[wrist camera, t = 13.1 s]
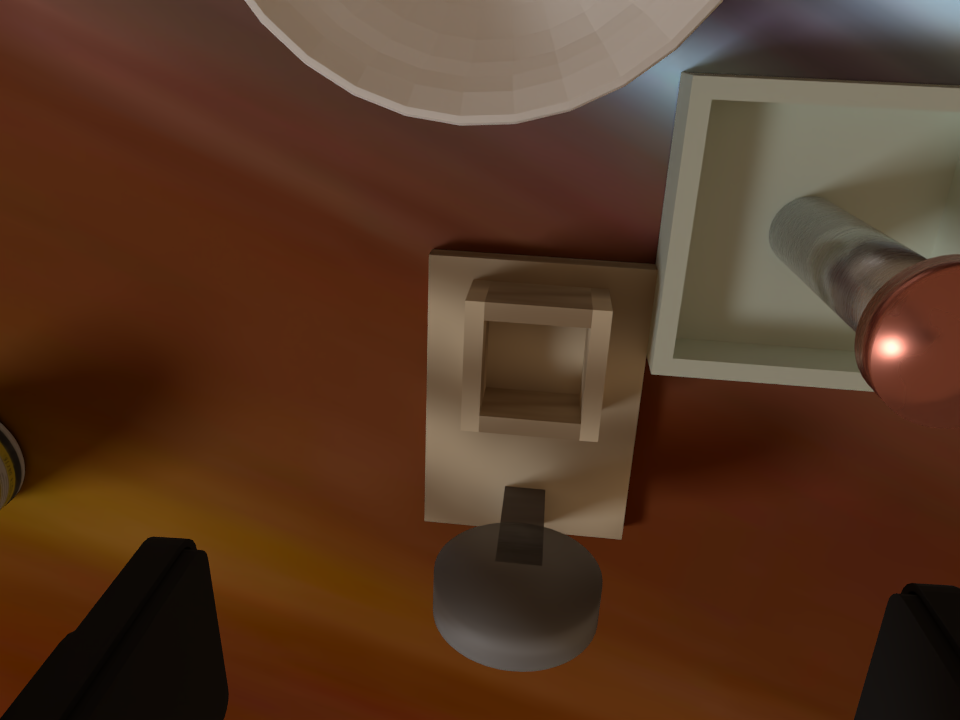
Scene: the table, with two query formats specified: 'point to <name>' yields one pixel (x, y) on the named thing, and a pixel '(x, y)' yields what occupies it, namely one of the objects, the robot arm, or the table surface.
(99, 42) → the table surface
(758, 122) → the tray
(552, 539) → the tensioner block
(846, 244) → the lock pin
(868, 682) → the robot arm
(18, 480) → the pill bottle
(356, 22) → the bowl
